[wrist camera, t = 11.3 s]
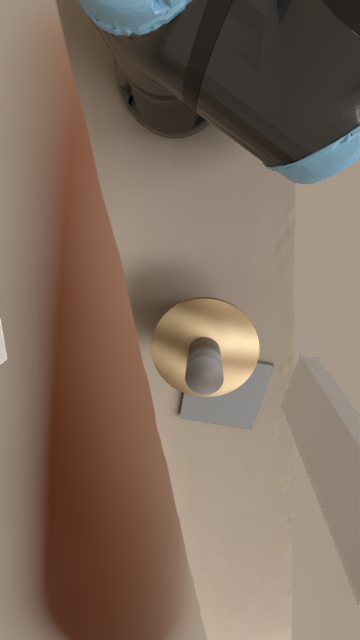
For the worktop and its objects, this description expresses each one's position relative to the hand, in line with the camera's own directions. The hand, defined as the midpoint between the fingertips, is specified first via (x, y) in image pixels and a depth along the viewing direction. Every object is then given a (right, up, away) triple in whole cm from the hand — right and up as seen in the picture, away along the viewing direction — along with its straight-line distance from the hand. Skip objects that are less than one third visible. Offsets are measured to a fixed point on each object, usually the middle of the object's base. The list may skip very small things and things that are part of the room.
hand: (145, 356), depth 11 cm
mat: (+11, -13, +43) cm, 46 cm away
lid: (+5, -2, +25) cm, 26 cm away
